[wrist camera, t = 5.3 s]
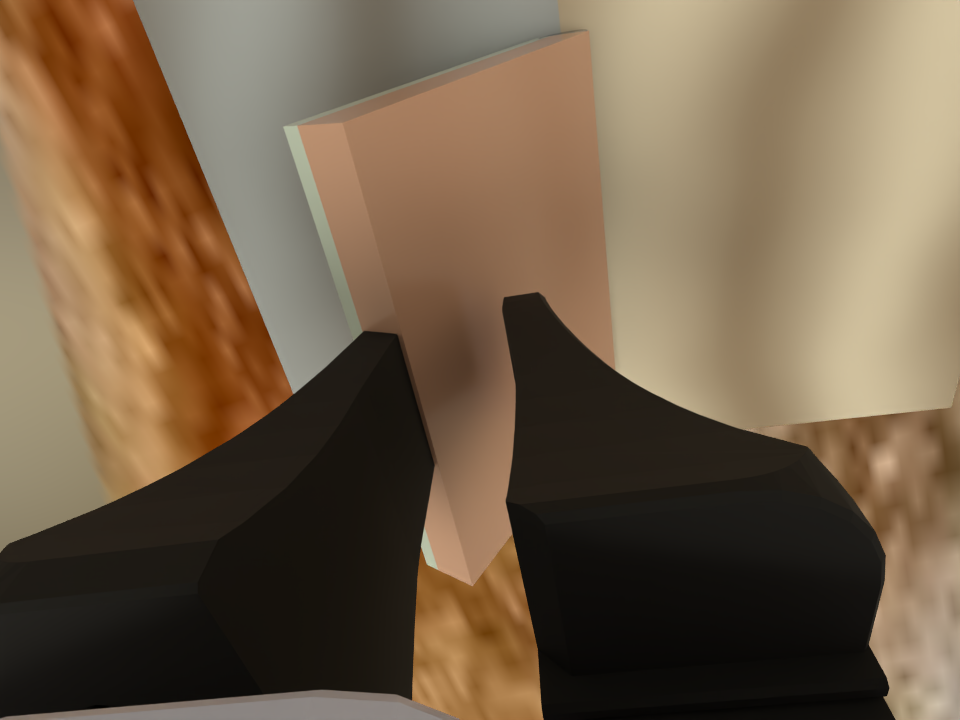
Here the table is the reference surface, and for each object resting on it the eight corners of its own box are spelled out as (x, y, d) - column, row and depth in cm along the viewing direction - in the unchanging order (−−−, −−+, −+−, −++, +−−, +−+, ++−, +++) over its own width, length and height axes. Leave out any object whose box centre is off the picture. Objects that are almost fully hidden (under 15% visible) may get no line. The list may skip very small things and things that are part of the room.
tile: (342, 122, 8) (283, 126, 8) (472, 585, 12) (427, 564, 13) (600, 26, 13) (548, 33, 13) (624, 385, 17) (586, 377, 18)
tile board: (1060, -220, 12) (1125, -244, 11) (922, 378, 19) (951, 407, 18) (160, -17, 14) (126, -16, 13) (337, 443, 22) (326, 473, 20)
